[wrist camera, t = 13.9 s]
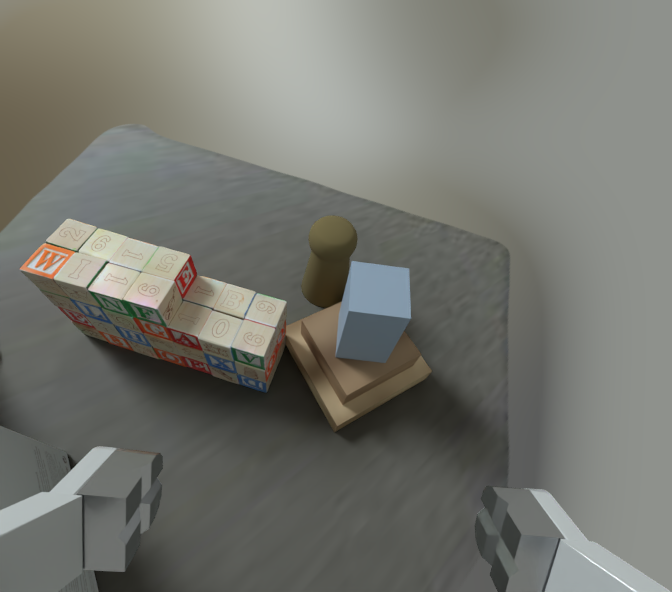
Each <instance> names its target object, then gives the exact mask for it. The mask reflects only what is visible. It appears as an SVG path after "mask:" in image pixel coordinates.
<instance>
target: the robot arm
mask: <svg viewBox="0 0 672 592" xmlns="http://www.w3.org/2000/svg"><path fill="white" fill-rule="evenodd" d="M162 469H163V456H162V455H161V454H160V453H154V452H146V451H138V450H130V449H121V448H120V449H118V448H111V447H102V446H98V447H95V448H93V449H92V450H91V451H90V452H89V453H88V454H87V455H86V456H85V457H84V458H83V459H82V460H81V461H80V462H79V463H78V464H77V465H76V466H75V467H74V468H73V469H72V470H71V471H70V472H69V473H68V474H67V475H66V476H65V477H64V478H63V479H62V480H61V481H60V482H59V483H58V484H57V485H56V486H55V487H54V488H53V489H52V490H51V491H50V492H41V493H38V494H36V495H34V496H32V497H29V498H27V499H25V500H23V501H20V502H18V503H16V504H14V505H11V506H9V507H7V508H5V509H2V510H0V592H58V591H59V590H61V589H62V588H63V587H65V586H66V585H67V584H68V583H70V582H71V581H72V580H74V579H75V578H76V577H77V576H79V575H80V574H81V573H82V572H83V570H96V571H116V572H125V571H126V569H127V567H128V565H129V563H130V562H131V560H132V558H133V556H134V555H135V553H136V551H137V549H138V548H139V546H140V534H141V533H143V532H144V531H146V530H147V529H149V528H150V526H151V524H152V522H153V520H154V518H155V516H156V513H157V510H158V507H159V504H160V499H161V492H162V484H161V483H160V481H159V480H158V478H157V477H158V475H159V474H160V472H161V470H162ZM481 500H482V502H483V504H484V506H485V508H483V509H482V510H481V511H480V512H479V513H478V514H477V518H476V523H475V538H476V542H477V546H478V549H479V551H480V554H481V556H482V558H483V559H485V560H486V561H487V562H488V563H489V564H490V565H491V566H492V568H491V572H490V576H491V578H492V580H493V582H494V585H495V587H496V589H497V591H498V592H671V591H669V590H668V589H666V588H664V587H663V586H662V585H660V584H658V583H657V582H655V581H654V580H652V579H651V578H649V577H648V576H646V575H645V574H643V573H641V572H640V571H639V570H637V569H635V568H634V567H632V566H631V565H629V564H628V563H626V562H625V561H623V560H622V559H620V558H619V557H617V556H615V555H614V554H613V553H611V552H609V551H608V550H606V549H605V548H603V547H602V546H600V545H599V544H597V543H596V542H589V541H588V540H587V539H586V537H585V536H584V535H583V534H582V532H581V531H580V530H579V529H578V527H577V526H576V525H575V524H574V523H573V521H572V520H571V519H570V517H569V516H568V515H567V514H566V513H565V512H564V510H563V509H562V508H561V506H560V505H559V504H558V503H557V501H556V500H555V499H554V498H553V496H552V495H551V494H550V493H549V492H547V491H546V490H543V489H528V488H527V489H526V488H525V489H518V488H508V487H497V486H486V487H485V489H484V490H483V493H482V497H481Z"/></svg>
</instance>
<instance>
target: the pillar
mask: <svg viewBox="0 0 672 592" xmlns="http://www.w3.org/2000/svg"><path fill="white" fill-rule="evenodd" d="M410 320H411V307H410V282H409V269H408V268H400V267H392V266H385V265H377V264H370V263H362V262H355V261H352V263H351V267H350V271H349V275H348V279H347V283H346V287H345V291H344V295H343V299H342V303H341V307H340V311H339V319H338V331H337V343H336V356H335V357H338V358H346V359H355V360H363V361H372V362H380V363H386V361H387V359H388V358H389V356H390V354H391V352H392V351H393V349H394V347H395V346H396V344H397V342H398V340H399V339H400V337H401V335H402V333H403V332H404V330H405V328H406V326H407V325H408V323H409V321H410Z"/></svg>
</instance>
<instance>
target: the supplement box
mask: <svg viewBox="0 0 672 592" xmlns="http://www.w3.org/2000/svg"><path fill="white" fill-rule="evenodd" d="M70 471H71V469H70V464H69V460H68V456H67V453H66V452H65V451H63V450H60V449H58V448H55V447H53V446H50V445H48V444H45V443H43V442H40V441H38V440H35V439H33V438H30V437H28V436H25V435H22V434H20V433H17V432H15V431H12V430H10V429H8V428H5V427H3V426H0V510H2V509H5V508H7V507H9V506H11V505H14V504H16V503H18V502H20V501H23V500H25V499H27V498H29V497H32V496H34V495H36V494H38V493H41V492H50V491H51V490H52V489H53V488H54V487H55V486H56V485H57V484H58V483H59V482H60V481H61V480H62V479H63V478H64V477H65V476H66V475H67V474H68V473H69V472H70ZM58 592H99V591H98V587H97V582H96V578H95V574H94V570H83V572H82V573H81V574H80V575H79V576H77V577H76V578H75V579H74V580H72V581H71V582H70V583H68V584H67V585H66V586H65V587H63V588H62V589H61V590H59V591H58Z"/></svg>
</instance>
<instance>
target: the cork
mask: <svg viewBox="0 0 672 592" xmlns="http://www.w3.org/2000/svg"><path fill="white" fill-rule="evenodd" d="M309 245H310V248H311V250H312V251H311V255H310V258H309V261H308V264H307V268H306V271H305V274H304V277H303V281H302V285H301V287H302V293H303V294H304V296H305V298H306V299H307V300H308V301H309V302H310V303H312V304H314V305H316V306H320V307H331V306H333V305H335V304H337V303H340V302H342V299H343V295H344V291H345V287H346V283H347V279H348V275H349V257H350V256H351V255H352V253H353V252H354V250H355V248H356V245H357V233H356V230H355V228H354V227H353V225H352V224H351V223H350V222H349V221H348V220H346V219H344V218H342V217H339V216H326V217H322V218H321V219H319V220H318V221H316V222H315V223H314V225H313V226H312V227H311V230H310V233H309Z"/></svg>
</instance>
